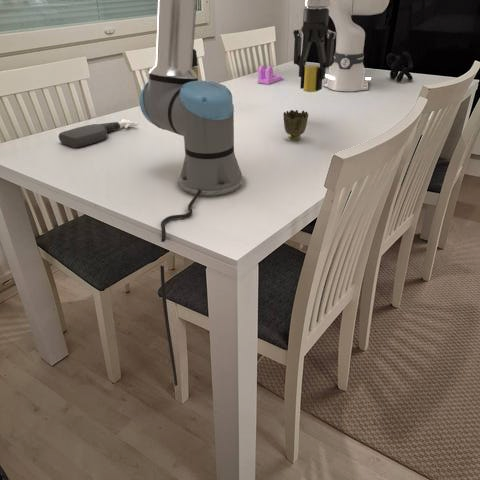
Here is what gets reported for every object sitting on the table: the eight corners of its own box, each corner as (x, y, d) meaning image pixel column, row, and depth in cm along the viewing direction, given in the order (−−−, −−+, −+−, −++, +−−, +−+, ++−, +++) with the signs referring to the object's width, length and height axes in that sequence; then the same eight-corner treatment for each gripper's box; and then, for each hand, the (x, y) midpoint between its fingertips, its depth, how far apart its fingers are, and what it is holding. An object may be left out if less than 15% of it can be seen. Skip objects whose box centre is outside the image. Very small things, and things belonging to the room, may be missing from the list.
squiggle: (400, 92, 202) (376, 71, 205) (417, 76, 202) (392, 56, 205) (405, 81, 191) (380, 59, 194) (423, 64, 191) (397, 42, 194)
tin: (316, 88, 146) (318, 64, 142) (319, 92, 142) (321, 67, 138) (302, 88, 146) (303, 64, 142) (304, 92, 142) (306, 67, 138)
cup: (278, 141, 135) (279, 114, 131) (287, 133, 140) (288, 108, 136) (301, 144, 132) (303, 118, 128) (310, 137, 137) (312, 111, 133)
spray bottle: (57, 141, 138) (121, 123, 154) (77, 149, 132) (142, 129, 148) (55, 132, 136) (120, 114, 152) (75, 139, 130) (141, 120, 146)
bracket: (268, 84, 198) (268, 67, 194) (258, 82, 201) (258, 66, 197) (284, 78, 207) (284, 62, 203) (274, 77, 209) (274, 61, 206)
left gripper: (349, 7, 130) (341, 89, 143) (295, 5, 139) (291, 83, 151) (340, 9, 125) (332, 94, 137) (283, 7, 133) (281, 87, 146)
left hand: (310, 88), depth 144 cm, fingers closed on tin, 5 cm apart
